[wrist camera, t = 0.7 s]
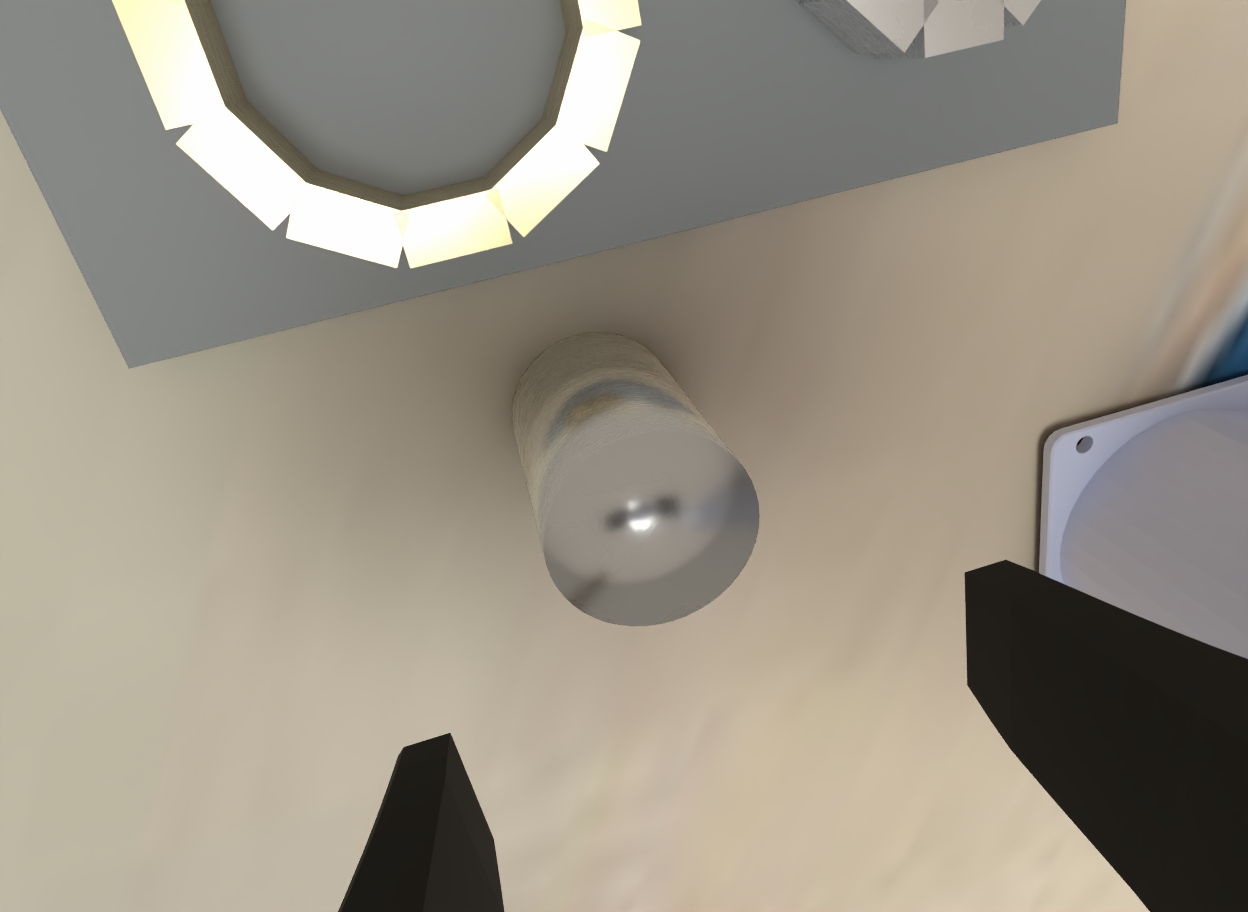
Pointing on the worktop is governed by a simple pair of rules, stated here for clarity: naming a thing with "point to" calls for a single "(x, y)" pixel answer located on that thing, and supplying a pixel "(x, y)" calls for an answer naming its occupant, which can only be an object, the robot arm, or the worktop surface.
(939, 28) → the narrow socket
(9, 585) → the worktop surface
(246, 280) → the fitting board
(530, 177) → the wide socket
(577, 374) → the metal cylinder peg
